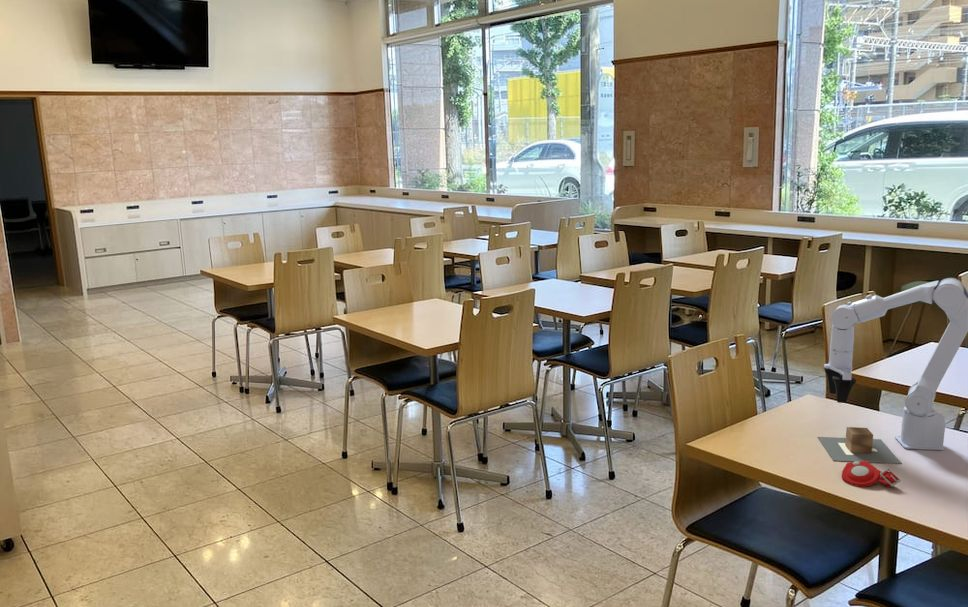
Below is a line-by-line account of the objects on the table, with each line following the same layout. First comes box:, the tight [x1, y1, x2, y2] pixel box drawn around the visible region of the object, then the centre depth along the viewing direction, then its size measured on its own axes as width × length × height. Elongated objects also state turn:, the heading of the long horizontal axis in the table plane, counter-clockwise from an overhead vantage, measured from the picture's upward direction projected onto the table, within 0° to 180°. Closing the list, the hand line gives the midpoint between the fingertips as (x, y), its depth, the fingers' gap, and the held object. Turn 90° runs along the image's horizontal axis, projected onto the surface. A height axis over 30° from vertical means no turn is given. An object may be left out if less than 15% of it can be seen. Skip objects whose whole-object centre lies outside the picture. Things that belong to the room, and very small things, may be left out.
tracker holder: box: [841, 461, 902, 488], centre depth 189 cm, size 12×4×10 cm
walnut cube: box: [845, 426, 874, 453], centre depth 206 cm, size 5×5×5 cm
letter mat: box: [817, 436, 902, 465], centre depth 207 cm, size 16×16×1 cm
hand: (837, 397), depth 218 cm, fingers open, 7 cm apart
